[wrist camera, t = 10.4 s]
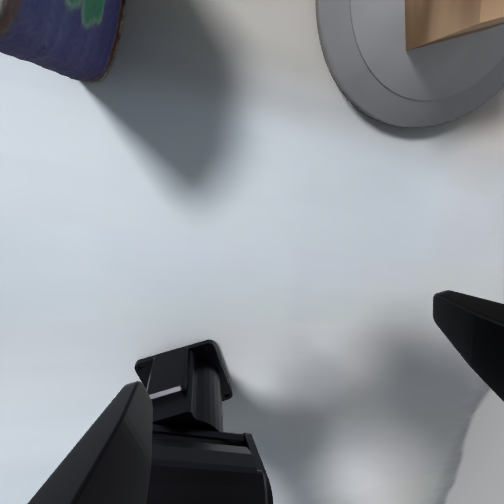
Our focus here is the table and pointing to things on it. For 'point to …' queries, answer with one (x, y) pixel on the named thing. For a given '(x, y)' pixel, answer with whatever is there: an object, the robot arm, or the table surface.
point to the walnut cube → (448, 19)
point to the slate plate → (406, 64)
